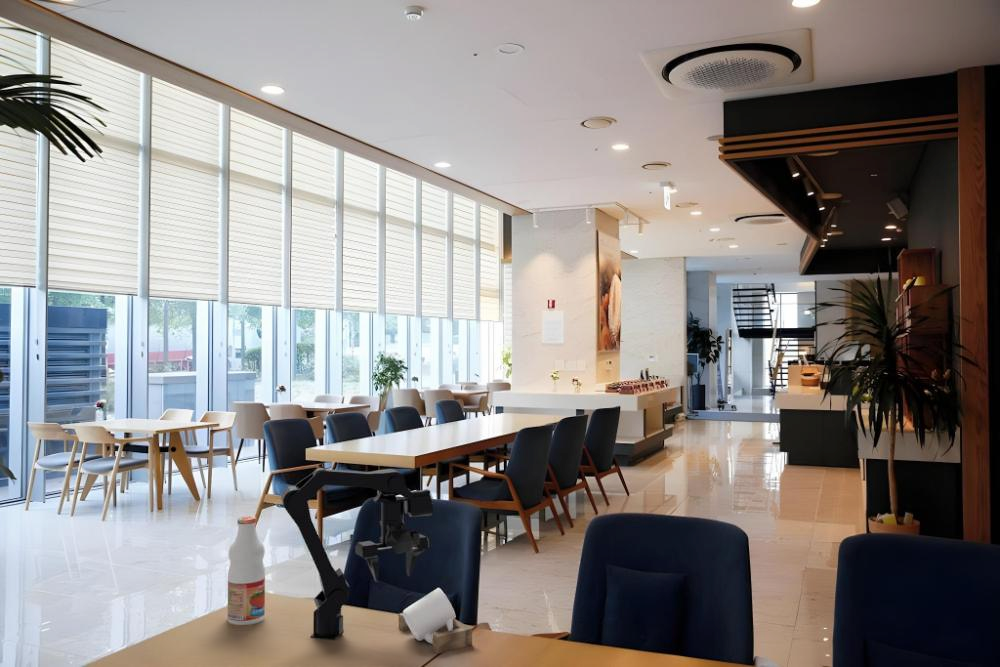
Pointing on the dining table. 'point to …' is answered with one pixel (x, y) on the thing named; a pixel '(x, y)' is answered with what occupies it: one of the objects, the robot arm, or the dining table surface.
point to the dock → (446, 636)
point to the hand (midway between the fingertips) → (392, 578)
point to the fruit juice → (246, 576)
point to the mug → (429, 615)
